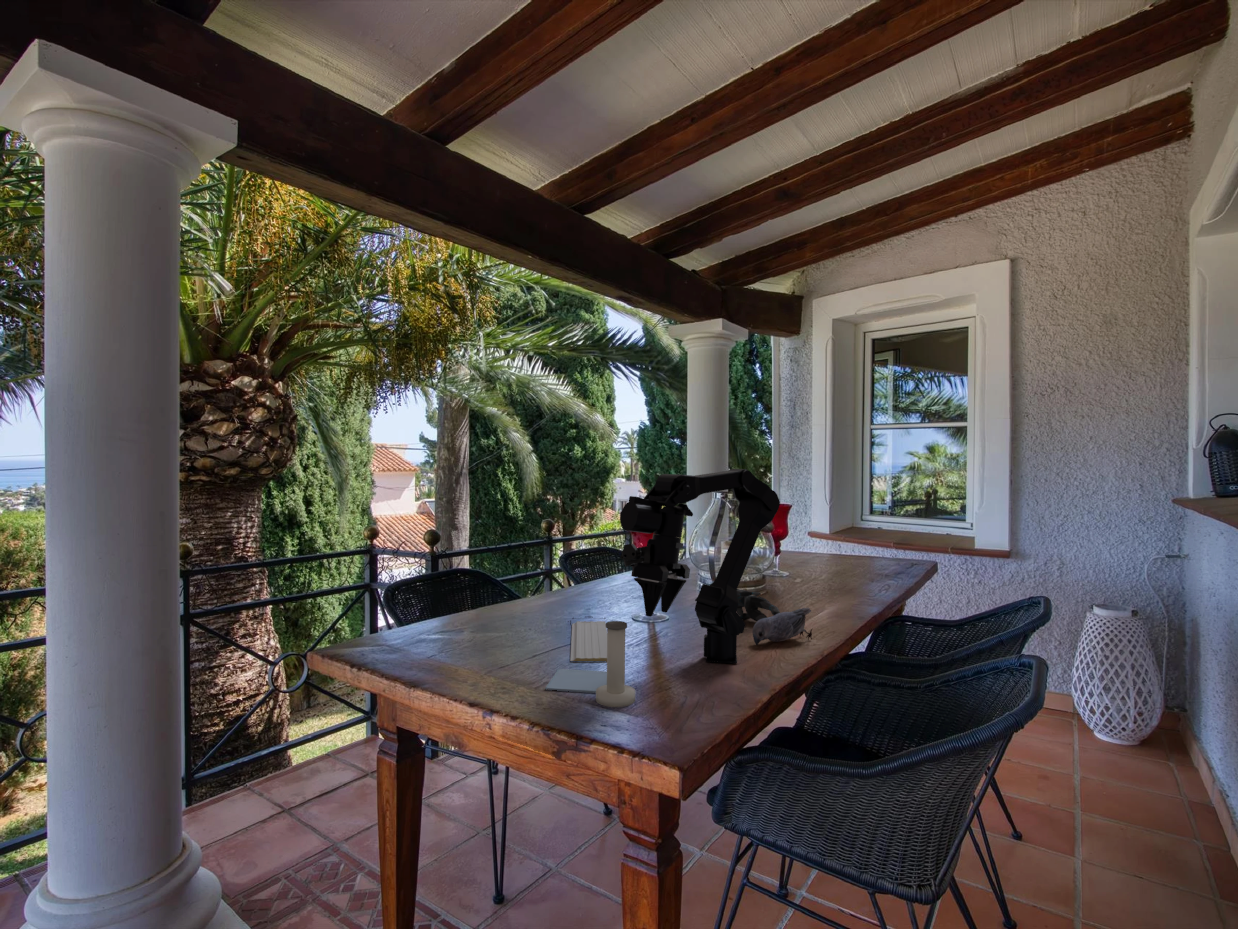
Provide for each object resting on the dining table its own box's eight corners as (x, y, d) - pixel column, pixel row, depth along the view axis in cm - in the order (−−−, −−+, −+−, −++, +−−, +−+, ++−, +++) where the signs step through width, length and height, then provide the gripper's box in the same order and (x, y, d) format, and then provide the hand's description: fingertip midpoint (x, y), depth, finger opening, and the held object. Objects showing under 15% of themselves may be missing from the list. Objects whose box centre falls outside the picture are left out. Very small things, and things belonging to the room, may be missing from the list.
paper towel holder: (637, 694, 120) (638, 619, 120) (632, 708, 113) (633, 629, 113) (599, 691, 121) (600, 618, 121) (592, 706, 114) (593, 627, 114)
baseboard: (563, 665, 138) (610, 665, 139) (563, 651, 138) (611, 651, 139) (566, 627, 168) (605, 627, 169) (566, 616, 168) (605, 616, 169)
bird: (747, 643, 154) (747, 611, 154) (800, 635, 161) (800, 605, 161) (761, 649, 149) (762, 616, 149) (815, 641, 156) (816, 609, 156)
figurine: (780, 605, 158) (719, 572, 186) (770, 640, 158) (710, 603, 186) (816, 613, 162) (751, 580, 190) (806, 648, 162) (742, 610, 190)
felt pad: (612, 673, 131) (612, 671, 131) (604, 693, 120) (604, 691, 120) (558, 670, 132) (558, 668, 132) (545, 690, 121) (545, 688, 121)
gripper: (646, 531, 144) (636, 603, 143) (612, 529, 127) (600, 610, 126) (694, 539, 139) (685, 613, 138) (666, 537, 122) (655, 621, 121)
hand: (656, 614), depth 131 cm, fingers open, 9 cm apart
